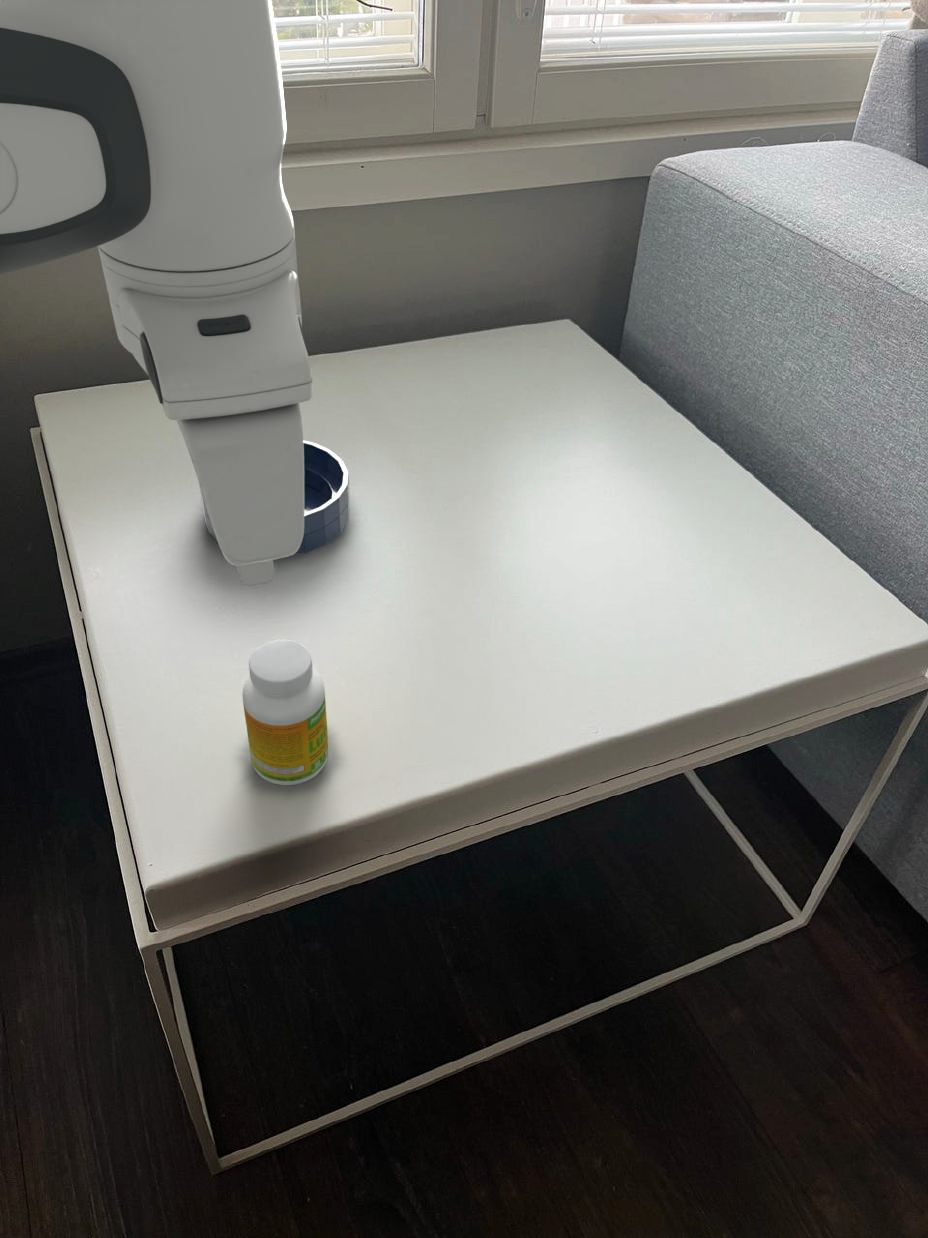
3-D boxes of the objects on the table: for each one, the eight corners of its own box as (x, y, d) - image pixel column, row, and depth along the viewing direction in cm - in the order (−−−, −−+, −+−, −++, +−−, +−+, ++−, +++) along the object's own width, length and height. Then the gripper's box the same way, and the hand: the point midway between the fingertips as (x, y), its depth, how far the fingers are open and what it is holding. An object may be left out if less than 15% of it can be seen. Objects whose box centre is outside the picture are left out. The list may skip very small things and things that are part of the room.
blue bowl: (218, 574, 83) (212, 531, 80) (195, 489, 92) (189, 448, 89) (365, 548, 87) (365, 507, 84) (330, 469, 95) (328, 429, 92)
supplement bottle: (323, 790, 67) (316, 692, 60) (245, 786, 67) (229, 688, 60) (333, 730, 71) (327, 633, 64) (258, 726, 71) (246, 629, 64)
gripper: (116, 219, 53) (160, 439, 62) (166, 408, 39) (213, 655, 48) (233, 209, 54) (259, 424, 64) (321, 386, 40) (337, 628, 50)
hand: (240, 525), depth 56 cm, fingers open, 8 cm apart
